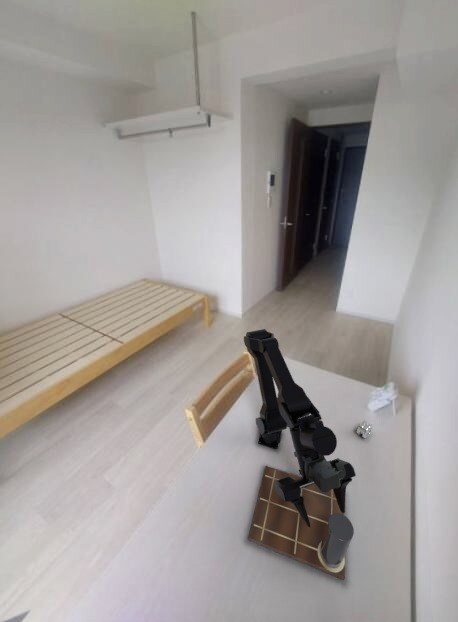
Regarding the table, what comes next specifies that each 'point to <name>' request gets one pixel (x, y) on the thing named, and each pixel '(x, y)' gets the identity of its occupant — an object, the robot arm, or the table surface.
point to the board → (294, 522)
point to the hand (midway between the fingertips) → (326, 519)
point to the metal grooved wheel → (364, 429)
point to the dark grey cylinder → (336, 540)
